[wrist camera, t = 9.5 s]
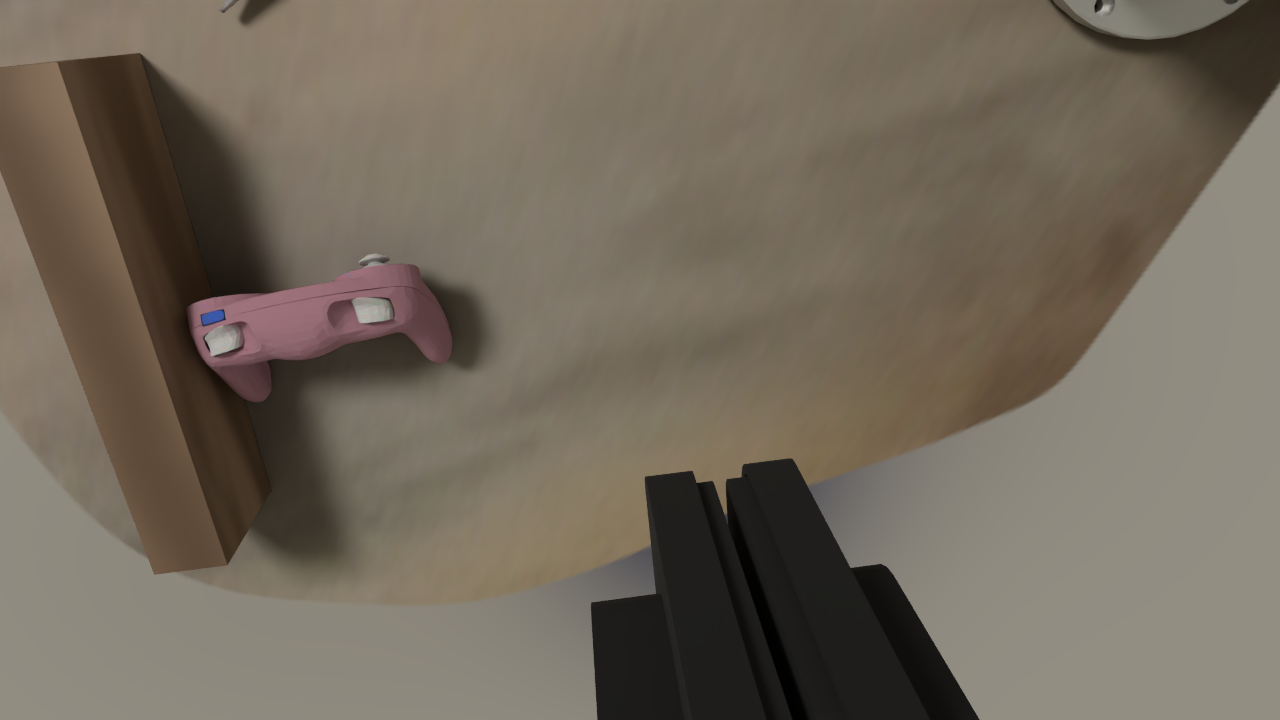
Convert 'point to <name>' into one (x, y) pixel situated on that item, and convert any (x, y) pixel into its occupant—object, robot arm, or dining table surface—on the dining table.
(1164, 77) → the dining table surface
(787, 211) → the dining table surface
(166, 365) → the bar
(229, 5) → the pliers
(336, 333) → the video game controller
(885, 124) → the dining table surface
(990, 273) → the dining table surface
